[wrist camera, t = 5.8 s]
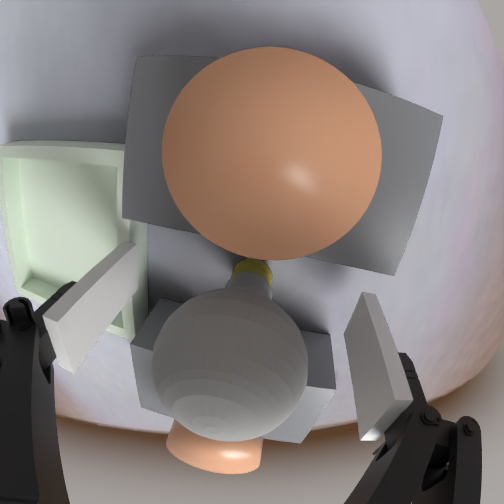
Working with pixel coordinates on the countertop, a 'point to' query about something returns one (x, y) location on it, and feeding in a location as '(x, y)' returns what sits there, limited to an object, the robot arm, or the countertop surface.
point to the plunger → (214, 451)
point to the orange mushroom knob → (271, 153)
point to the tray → (68, 219)
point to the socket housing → (341, 252)
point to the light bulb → (231, 359)
